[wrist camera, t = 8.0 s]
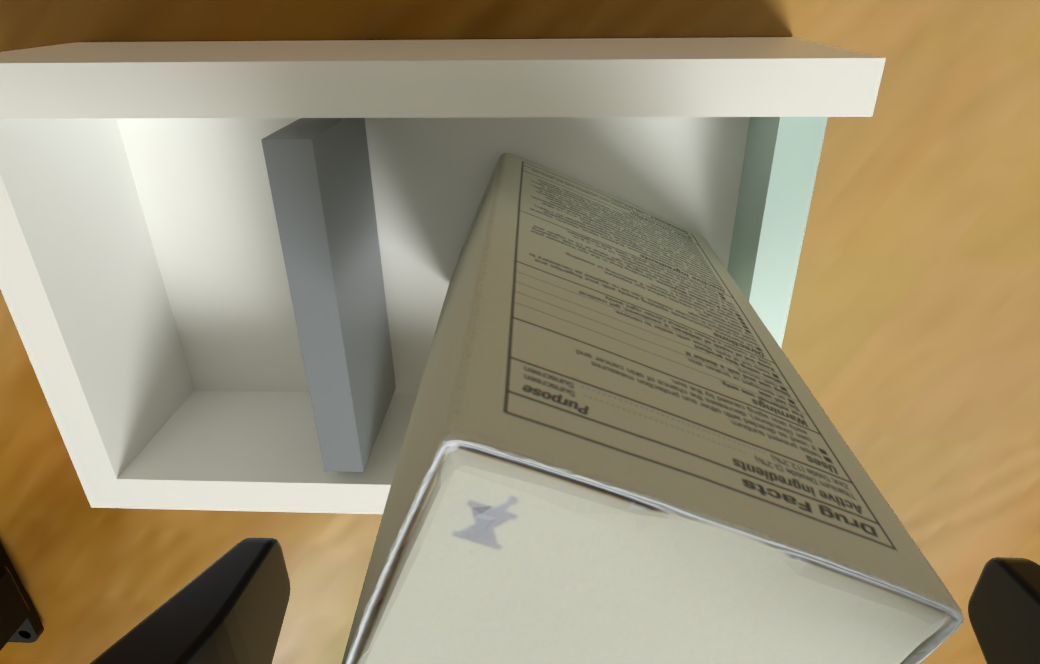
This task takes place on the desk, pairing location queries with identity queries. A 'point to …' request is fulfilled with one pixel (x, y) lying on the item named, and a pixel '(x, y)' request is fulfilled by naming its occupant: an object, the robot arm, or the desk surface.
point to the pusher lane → (399, 215)
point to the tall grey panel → (334, 280)
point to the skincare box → (626, 467)
